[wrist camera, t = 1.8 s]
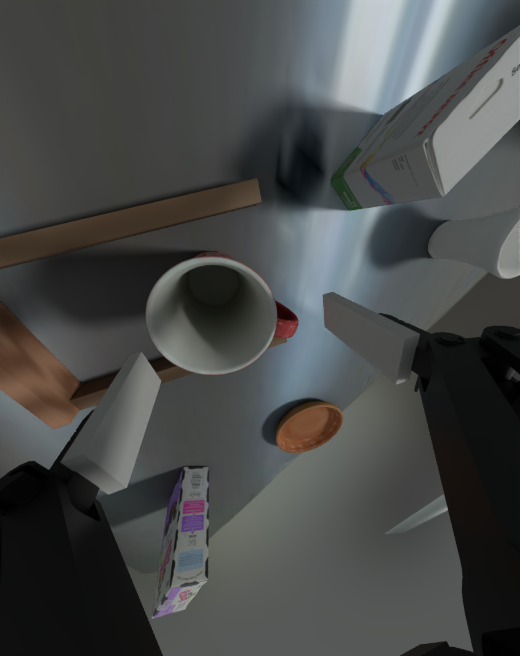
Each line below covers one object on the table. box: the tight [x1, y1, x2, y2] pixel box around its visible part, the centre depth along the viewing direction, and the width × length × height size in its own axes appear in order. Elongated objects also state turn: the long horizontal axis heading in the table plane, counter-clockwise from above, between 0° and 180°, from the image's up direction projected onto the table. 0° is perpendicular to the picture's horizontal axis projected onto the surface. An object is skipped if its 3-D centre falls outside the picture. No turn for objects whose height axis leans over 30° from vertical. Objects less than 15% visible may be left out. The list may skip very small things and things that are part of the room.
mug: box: [145, 251, 298, 375], centre depth 20 cm, size 13×9×14 cm
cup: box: [428, 206, 520, 279], centre depth 26 cm, size 9×9×10 cm
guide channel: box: [0, 178, 287, 429], centre depth 22 cm, size 20×32×5 cm, turn 103°
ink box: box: [331, 25, 520, 211], centre depth 18 cm, size 8×5×12 cm, turn 138°
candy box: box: [152, 467, 209, 619], centre depth 37 cm, size 14×6×16 cm, turn 156°
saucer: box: [275, 401, 343, 453], centre depth 43 cm, size 16×16×3 cm
